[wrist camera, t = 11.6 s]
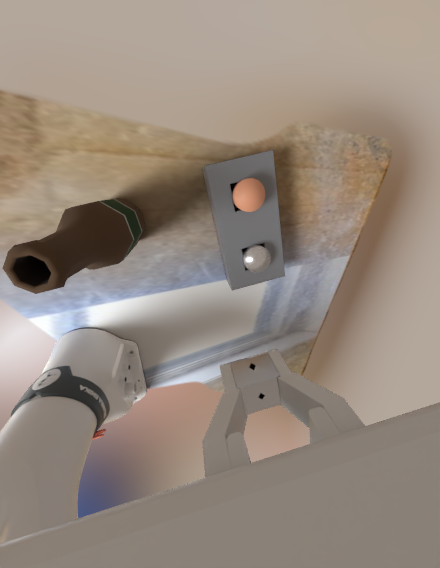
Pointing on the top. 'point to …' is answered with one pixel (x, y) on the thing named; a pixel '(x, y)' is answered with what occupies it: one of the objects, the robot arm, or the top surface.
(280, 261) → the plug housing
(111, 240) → the beer bottle
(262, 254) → the grey mushroom plug
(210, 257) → the top surface
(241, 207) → the mushroom push button
